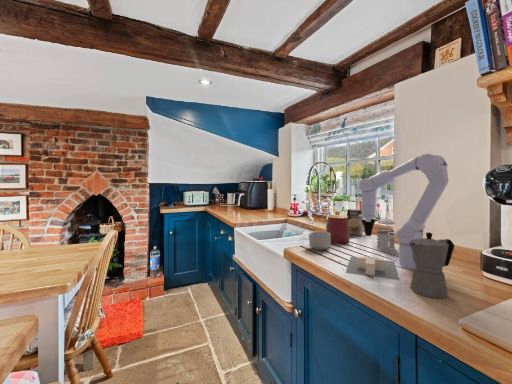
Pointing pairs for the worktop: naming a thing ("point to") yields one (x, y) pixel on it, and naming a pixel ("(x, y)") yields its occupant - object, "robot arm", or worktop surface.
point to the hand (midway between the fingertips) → (368, 235)
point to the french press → (386, 236)
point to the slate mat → (388, 272)
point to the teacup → (319, 240)
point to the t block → (370, 264)
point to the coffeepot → (430, 266)
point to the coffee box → (355, 221)
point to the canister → (338, 227)
